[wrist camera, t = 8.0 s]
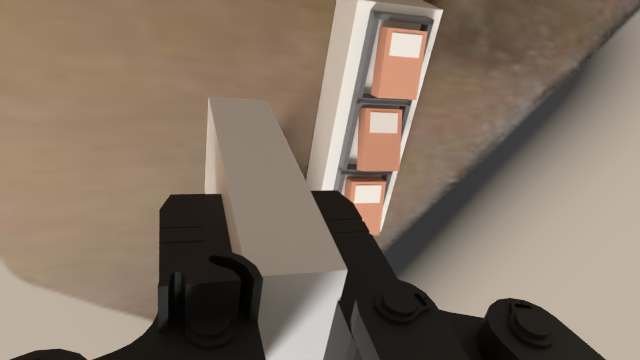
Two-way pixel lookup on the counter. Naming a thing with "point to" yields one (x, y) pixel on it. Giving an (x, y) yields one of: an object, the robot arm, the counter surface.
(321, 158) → the white rack
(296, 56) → the counter surface
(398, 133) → the block
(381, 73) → the orange rectangular block
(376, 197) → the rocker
